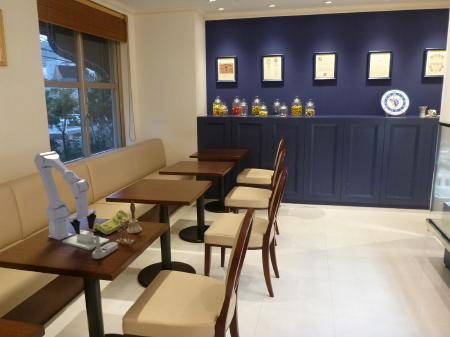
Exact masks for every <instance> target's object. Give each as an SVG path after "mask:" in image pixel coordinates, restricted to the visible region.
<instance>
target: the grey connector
mask: <svg viewBox="0 0 450 337" xmlns="http://www.w3.org/2000/svg"><path fill="white" fill-rule="evenodd" d="M94 233H95V232H93V231H88V230H85V229H80V234H79V235H78V234H76V235H77V240H79V241H83V242H87V243H91V242H94V240H95V237H94V236H95V235H94Z"/></svg>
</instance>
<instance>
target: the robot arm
mask: <svg viewBox="0 0 450 337" xmlns="http://www.w3.org/2000/svg"><path fill="white" fill-rule="evenodd" d="M33 161H34V164H35V167H36V170H37V172H38V173H39V176H40V179H41V181H42V185H43V187H44V190H45V193H46V197H47V199H48V203H49V204H48V205H47V207H46V208H45V210H46V217H47V219H48V221H49V222H48V232H49V235H48V238H50V239H51V238H52V239H54V240H57V241H60V240H64V239H65V238H66V239H67V238H70V237H72V236H73V235H74V234H73V233H70V232H69V226H68V224H70V225H71V226H72V228H73V230H74V231H75V234H76V235H77V234H78V235H79V234H80V230H81V228H80V226H81V221H79V220H80V219H83V218H86V219H87V224H88V229H89V230H92V229H93V227H94V225H95V221H96V219H97V210H96V209H94V208H93V209H90V210H89V200H88V190H89V188H90V186H89V182H88V181H87V179H83V178H80V177H79V176H78V174H76V172H74V170H72V169H71V170H70V169H68V168H67V167H66V165H65V164H64V163H63V161H61V157H60V155H59V154H58V153H57V152H56V151H55V150H52V151H49V152H48V151H47V152H42V153H37V154H35V156H34V159H33ZM53 168H54V169H55V170H57V172H59V173H60V174H61V175H62V179H63V180H64V181H65V182H66V184H68V185H69V186H70V190H71V192H72V195H73V196H72V197H73V198H74V205H75V214H73V215H72V216H70V214H71V210H70V207H69V206H68V205H67V203H66V201H63V200H61V198H60V194H59V192H58V188H57V186H56V182H55V180H54V177H53V174H52V170H53Z"/></svg>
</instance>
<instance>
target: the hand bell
mask: <svg viewBox="0 0 450 337" xmlns="http://www.w3.org/2000/svg"><path fill="white" fill-rule="evenodd" d="M129 209H130V212H131V219H130V220H129V221H128V222H129V223H130V224H131V228H130V227H128V226H127V229H129V228H130V229H129V230H127V233H128V234H136V233H140V232H141V231H143V228H142V227H141V226H140V224H139V220H138V219H136V215H135V212H136V204H135V202H134V200H133V201H132V200H131V201H130V204H129Z"/></svg>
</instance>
